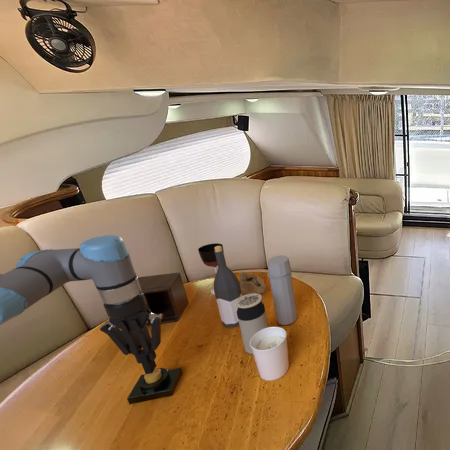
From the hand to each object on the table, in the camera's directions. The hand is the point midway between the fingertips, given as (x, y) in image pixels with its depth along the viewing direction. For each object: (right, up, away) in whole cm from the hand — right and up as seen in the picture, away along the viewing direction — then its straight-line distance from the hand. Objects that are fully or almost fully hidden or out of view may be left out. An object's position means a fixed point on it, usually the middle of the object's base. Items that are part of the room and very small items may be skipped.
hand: (151, 369), depth 85 cm
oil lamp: (+6, +11, +47) cm, 48 cm away
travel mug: (+21, 0, +18) cm, 28 cm away
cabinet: (-23, +6, +33) cm, 41 cm away
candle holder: (+30, -4, +9) cm, 32 cm away
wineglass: (-9, +12, +49) cm, 51 cm away
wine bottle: (+7, +4, +30) cm, 31 cm away
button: (0, -3, +1) cm, 3 cm away
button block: (0, -6, +2) cm, 7 cm away
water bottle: (+26, +5, +31) cm, 40 cm away
